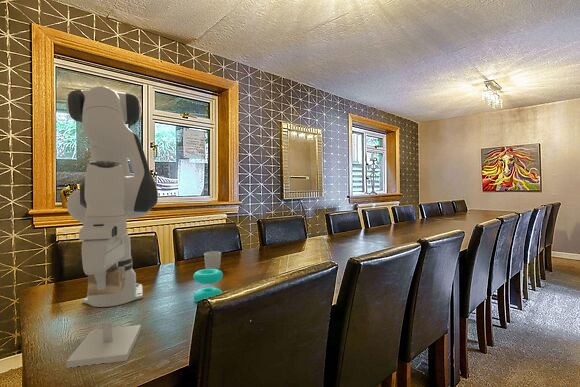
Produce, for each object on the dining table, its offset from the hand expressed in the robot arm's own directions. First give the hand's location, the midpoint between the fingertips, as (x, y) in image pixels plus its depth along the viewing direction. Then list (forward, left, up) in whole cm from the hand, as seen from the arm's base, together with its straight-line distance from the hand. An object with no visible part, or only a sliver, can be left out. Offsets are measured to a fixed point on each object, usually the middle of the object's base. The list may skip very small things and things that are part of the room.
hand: (107, 284), depth 79 cm
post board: (0, 0, -16) cm, 16 cm away
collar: (0, 0, -2) cm, 2 cm away
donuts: (-28, +24, -16) cm, 40 cm away
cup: (-71, +26, -16) cm, 77 cm away
